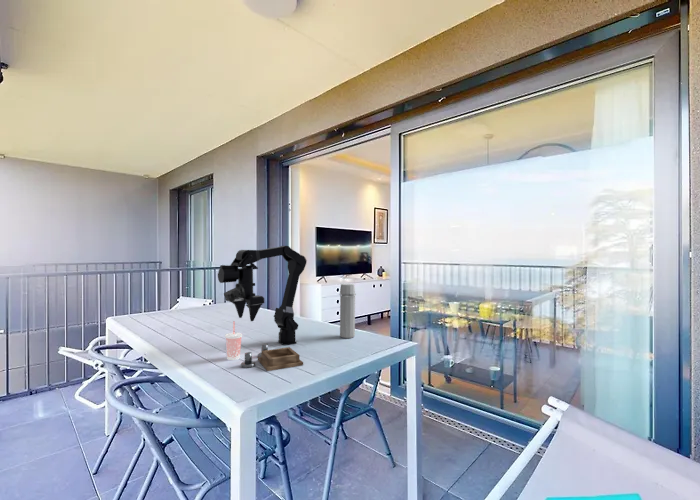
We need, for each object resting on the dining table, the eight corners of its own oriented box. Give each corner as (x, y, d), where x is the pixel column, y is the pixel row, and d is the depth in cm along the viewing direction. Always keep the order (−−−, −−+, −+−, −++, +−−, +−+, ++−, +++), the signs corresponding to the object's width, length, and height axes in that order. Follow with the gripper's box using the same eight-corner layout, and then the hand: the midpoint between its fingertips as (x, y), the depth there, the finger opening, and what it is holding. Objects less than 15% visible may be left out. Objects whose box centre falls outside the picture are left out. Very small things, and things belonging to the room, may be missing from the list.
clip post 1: (253, 362, 123) (253, 350, 123) (257, 366, 119) (257, 354, 119) (239, 364, 121) (239, 352, 121) (242, 369, 116) (242, 356, 116)
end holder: (291, 355, 132) (291, 346, 132) (303, 365, 121) (303, 355, 121) (257, 360, 126) (257, 350, 126) (267, 371, 115) (267, 360, 115)
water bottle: (340, 334, 165) (340, 283, 165) (356, 335, 164) (356, 283, 164) (337, 339, 156) (337, 285, 156) (354, 340, 155) (354, 285, 155)
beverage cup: (228, 355, 131) (229, 319, 131) (244, 355, 131) (244, 319, 131) (222, 360, 125) (222, 322, 125) (238, 360, 125) (239, 323, 125)
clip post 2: (269, 353, 134) (269, 342, 134) (272, 356, 130) (272, 345, 130) (256, 355, 132) (256, 343, 132) (259, 358, 127) (259, 347, 127)
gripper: (215, 280, 136) (216, 319, 137) (238, 284, 124) (238, 326, 124) (241, 278, 144) (241, 315, 145) (264, 281, 132) (265, 321, 132)
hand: (246, 319), depth 136 cm, fingers open, 9 cm apart
